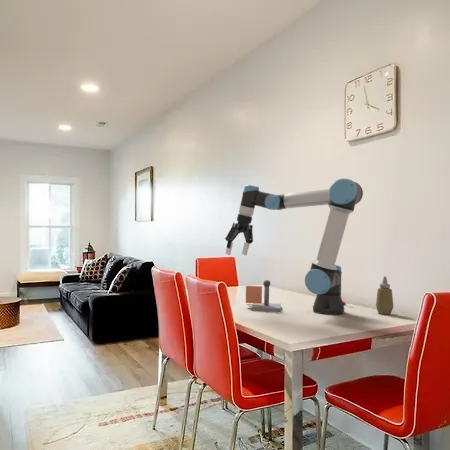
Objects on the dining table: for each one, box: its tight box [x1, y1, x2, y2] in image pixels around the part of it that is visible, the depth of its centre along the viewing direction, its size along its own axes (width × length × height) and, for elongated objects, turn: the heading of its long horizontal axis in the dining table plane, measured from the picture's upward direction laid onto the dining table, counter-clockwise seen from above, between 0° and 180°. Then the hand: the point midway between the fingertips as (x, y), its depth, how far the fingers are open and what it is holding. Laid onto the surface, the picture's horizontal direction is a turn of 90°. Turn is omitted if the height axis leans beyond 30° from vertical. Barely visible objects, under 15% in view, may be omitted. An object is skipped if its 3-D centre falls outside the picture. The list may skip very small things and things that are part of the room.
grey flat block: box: [246, 302, 281, 313], centre depth 216 cm, size 17×14×2 cm
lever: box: [245, 279, 271, 305], centre depth 217 cm, size 12×4×12 cm, turn 82°
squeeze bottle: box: [375, 276, 394, 315], centre depth 209 cm, size 8×8×18 cm
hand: (236, 254), depth 223 cm, fingers open, 13 cm apart
